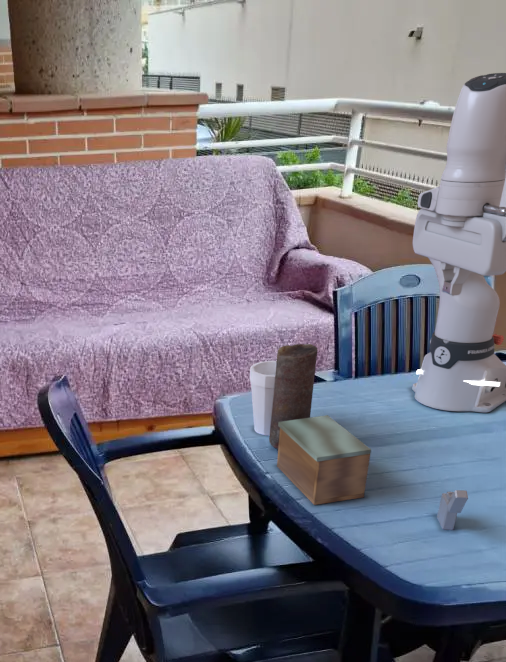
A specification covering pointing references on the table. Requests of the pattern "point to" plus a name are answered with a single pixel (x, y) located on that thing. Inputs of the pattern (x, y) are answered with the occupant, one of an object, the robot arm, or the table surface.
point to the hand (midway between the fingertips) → (450, 293)
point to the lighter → (451, 508)
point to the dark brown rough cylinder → (292, 386)
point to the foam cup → (262, 394)
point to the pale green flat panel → (323, 438)
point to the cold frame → (322, 473)
